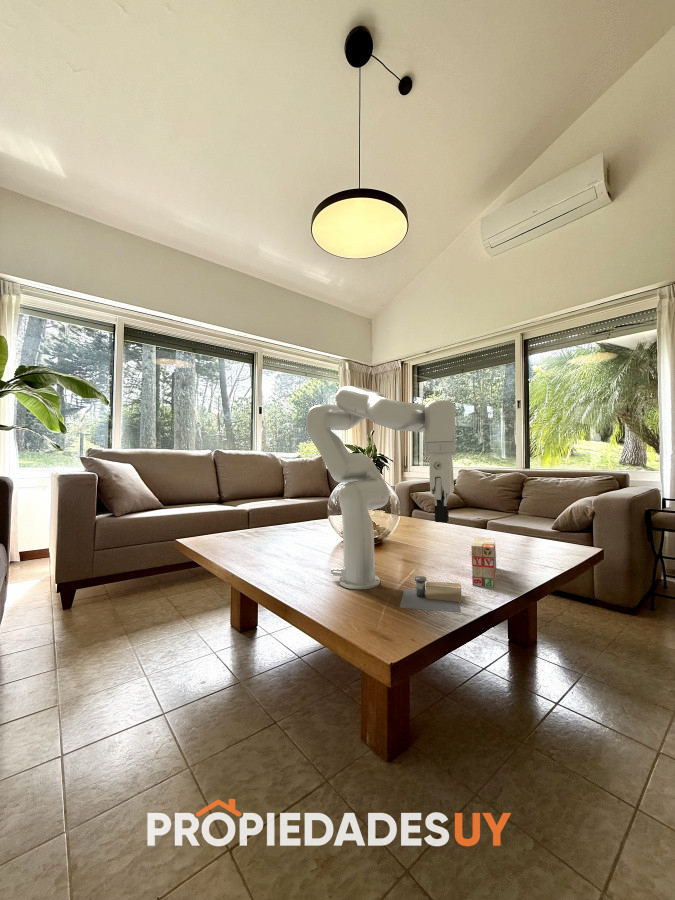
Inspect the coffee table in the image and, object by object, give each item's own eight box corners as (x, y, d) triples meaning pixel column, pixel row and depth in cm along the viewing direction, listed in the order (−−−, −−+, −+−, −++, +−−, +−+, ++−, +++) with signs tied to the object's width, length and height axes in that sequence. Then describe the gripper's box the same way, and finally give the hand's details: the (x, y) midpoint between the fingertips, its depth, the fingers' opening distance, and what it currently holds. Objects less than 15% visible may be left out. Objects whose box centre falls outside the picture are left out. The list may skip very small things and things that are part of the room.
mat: (399, 608, 96) (399, 607, 96) (404, 589, 110) (404, 588, 110) (460, 613, 93) (460, 612, 93) (458, 593, 106) (458, 592, 106)
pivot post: (414, 597, 103) (414, 579, 103) (415, 593, 106) (414, 575, 106) (426, 598, 102) (426, 580, 102) (427, 594, 105) (426, 576, 105)
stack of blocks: (477, 566, 131) (476, 531, 131) (496, 568, 128) (495, 532, 129) (472, 586, 112) (471, 544, 112) (495, 589, 109) (493, 546, 109)
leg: (461, 602, 99) (460, 588, 99) (426, 598, 102) (425, 585, 102) (461, 598, 101) (461, 584, 102) (427, 594, 105) (427, 581, 105)
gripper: (452, 449, 87) (454, 528, 87) (458, 449, 101) (459, 517, 101) (419, 449, 90) (421, 526, 90) (430, 450, 104) (431, 516, 104)
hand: (441, 521), depth 96 cm, fingers closed
